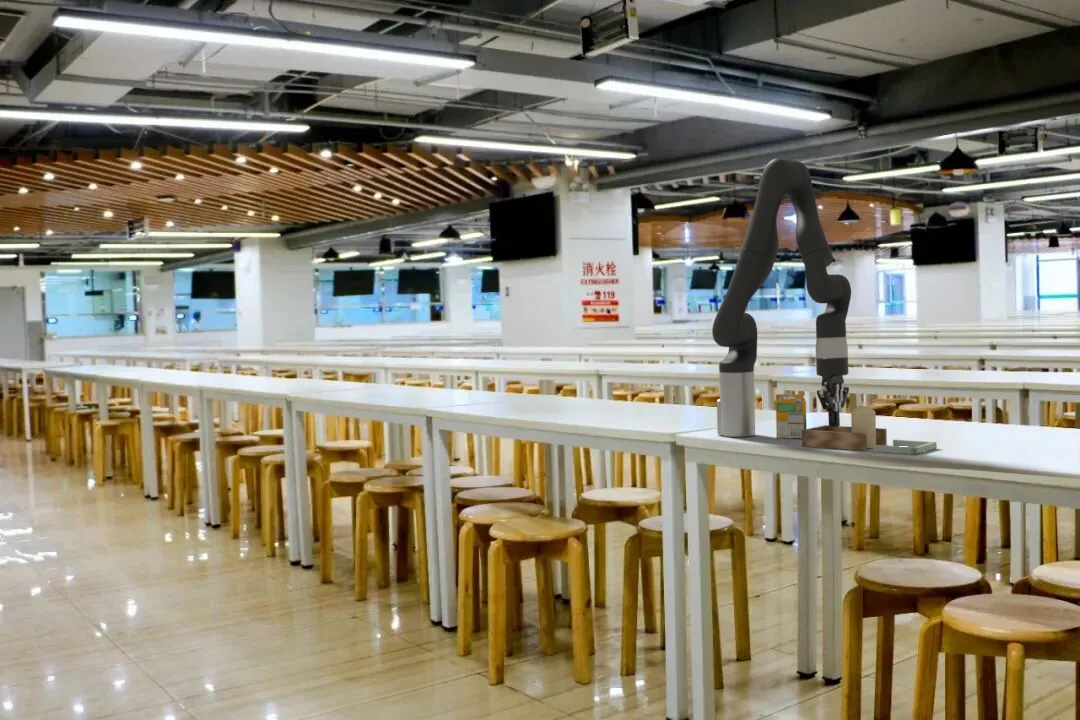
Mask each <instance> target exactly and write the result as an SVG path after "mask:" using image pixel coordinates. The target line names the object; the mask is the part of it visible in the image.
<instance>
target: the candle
mask: <svg viewBox="0 0 1080 720" xmlns="http://www.w3.org/2000/svg"><path fill="white" fill-rule="evenodd" d="M850 417H851V418H850V419H851V425H850V426H851V427H852V433H865V434H866V438H867V448H870V449H873V445H876V428H877V427H876V423H877V422H876V421H877V420H876V417H877V416H876V411H875V410H874V409H873V408H872V407H871V406H868V405H867V406H864V405H857V406H855V408H854V409H852V411H851V415H850Z"/></svg>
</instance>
